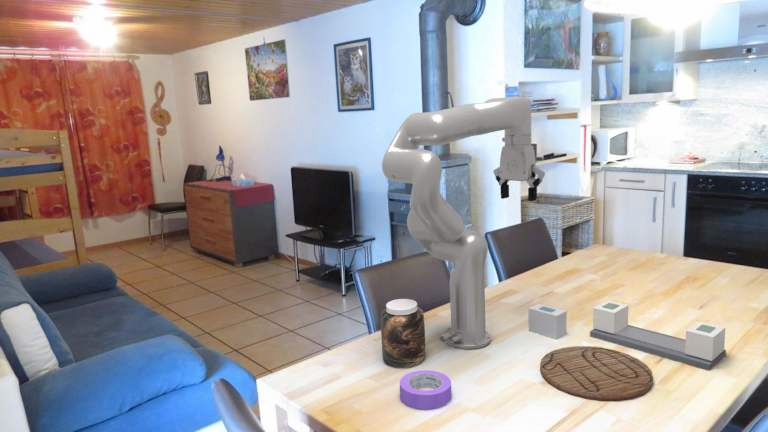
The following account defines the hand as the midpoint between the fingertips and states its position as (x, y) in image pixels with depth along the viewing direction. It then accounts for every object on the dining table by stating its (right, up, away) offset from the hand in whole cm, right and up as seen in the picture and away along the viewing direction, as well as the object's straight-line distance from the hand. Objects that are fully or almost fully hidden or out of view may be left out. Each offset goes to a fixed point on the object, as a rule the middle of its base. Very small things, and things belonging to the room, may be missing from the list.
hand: (518, 199), depth 161 cm
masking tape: (-30, -46, -37) cm, 67 cm away
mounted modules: (+31, -37, -18) cm, 52 cm away
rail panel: (+31, -39, -18) cm, 53 cm away
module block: (+7, -38, -6) cm, 39 cm away
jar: (-34, -43, -17) cm, 58 cm away
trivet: (+10, -43, -31) cm, 54 cm away
